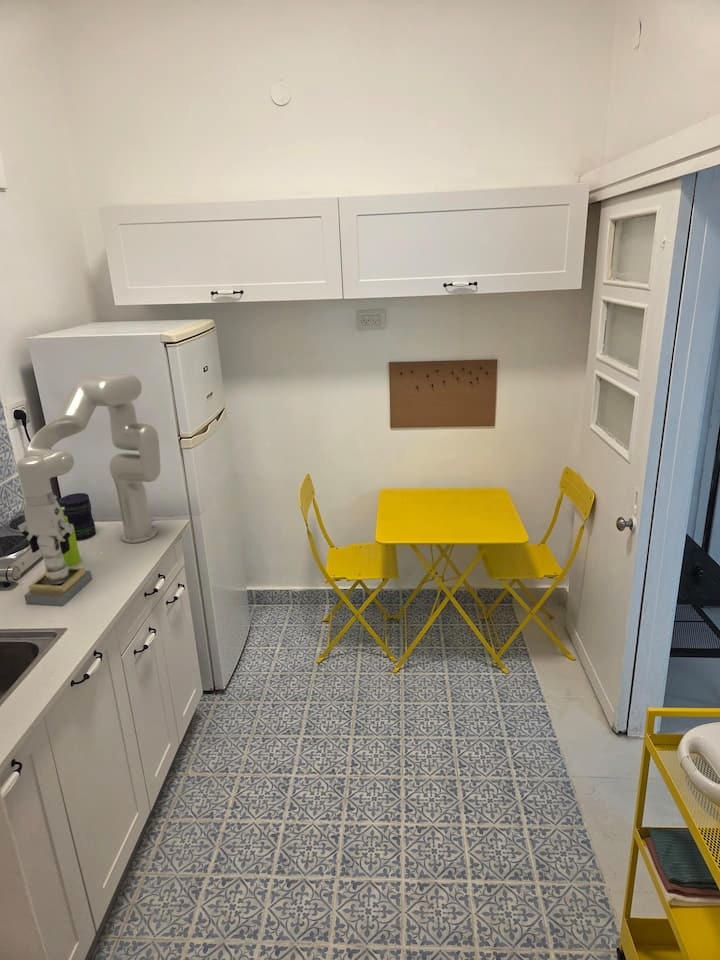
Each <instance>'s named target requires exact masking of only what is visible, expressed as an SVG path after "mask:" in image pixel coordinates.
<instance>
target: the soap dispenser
mask: <svg viewBox="0 0 720 960" xmlns="http://www.w3.org/2000/svg"><path fill="white" fill-rule="evenodd" d="M60 508H61V510H62V513H63V511H64V510H65V508H64V507H61V506H60ZM63 516H64V520H65V522H66V523H68V524H69V522H68V518H67V516H65V515H64V513H63ZM70 525H72V524H70ZM72 526H73V525H72ZM64 531H65V532H66V533H67V530H66V529H65V530H64ZM60 534H61V533H60ZM61 535H62V534H61ZM62 536H63V535H62ZM68 540H69V545H70V550H69V551H67V552H66V553H65V554H63V558H64V561H65V564H66V566H67V568H70V567H73V566H76V565H78V564H80V563H81V555H80V551H79V545H78V541H77V540H76V535H75V531H74V529H73V532H72V535H71V536H70V537H69V538H68Z"/></svg>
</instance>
